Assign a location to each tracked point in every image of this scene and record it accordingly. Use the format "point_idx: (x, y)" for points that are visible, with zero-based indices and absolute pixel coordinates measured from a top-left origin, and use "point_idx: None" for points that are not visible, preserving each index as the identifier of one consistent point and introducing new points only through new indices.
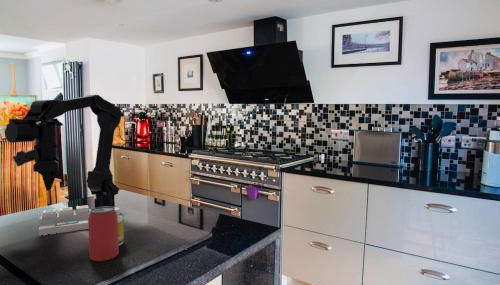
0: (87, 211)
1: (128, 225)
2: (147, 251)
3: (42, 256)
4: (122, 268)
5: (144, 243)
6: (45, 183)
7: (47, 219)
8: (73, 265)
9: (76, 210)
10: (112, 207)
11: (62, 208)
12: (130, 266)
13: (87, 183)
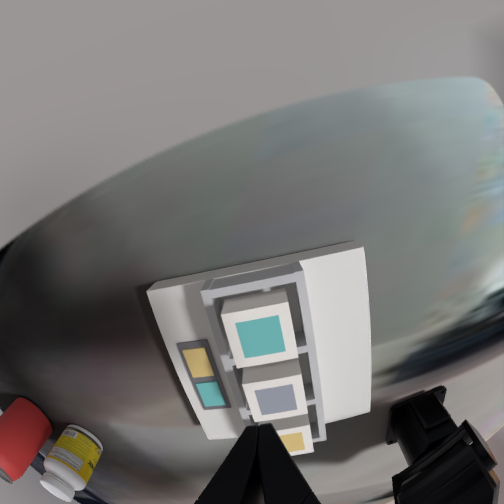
0: None
1: None
2: None
3: (20, 322)
4: None
5: (94, 468)
6: (215, 482)
7: (211, 321)
8: (4, 372)
9: (291, 417)
10: (8, 481)
11: (291, 385)
12: None
13: (472, 457)
